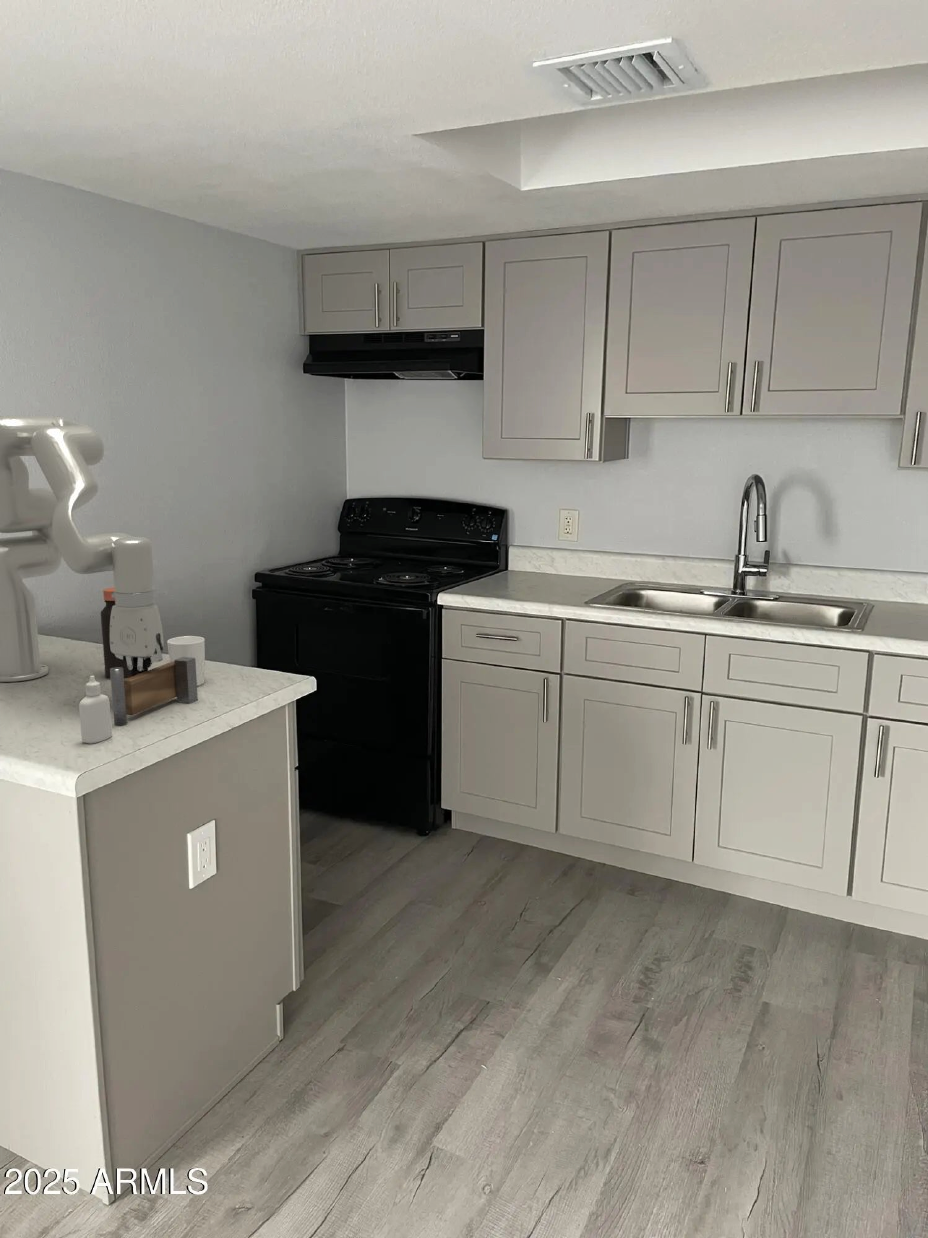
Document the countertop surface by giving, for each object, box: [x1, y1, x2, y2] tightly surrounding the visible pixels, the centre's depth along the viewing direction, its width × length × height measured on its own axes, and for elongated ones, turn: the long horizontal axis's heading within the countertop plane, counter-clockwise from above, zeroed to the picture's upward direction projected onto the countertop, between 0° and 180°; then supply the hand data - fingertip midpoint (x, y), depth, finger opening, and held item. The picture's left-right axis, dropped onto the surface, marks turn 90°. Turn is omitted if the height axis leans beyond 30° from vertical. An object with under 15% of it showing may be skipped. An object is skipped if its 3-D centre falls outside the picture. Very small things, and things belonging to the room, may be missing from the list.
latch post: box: [174, 657, 199, 704], centre depth 200 cm, size 3×3×9 cm
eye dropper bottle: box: [78, 675, 113, 744], centre depth 176 cm, size 4×6×12 cm
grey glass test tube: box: [110, 667, 128, 727], centre depth 185 cm, size 2×2×11 cm
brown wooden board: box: [124, 661, 177, 716], centre depth 195 cm, size 2×16×7 cm, turn 160°
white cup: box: [166, 635, 206, 687], centre depth 213 cm, size 8×8×10 cm
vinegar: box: [100, 587, 131, 679], centre depth 219 cm, size 7×7×20 cm
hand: (140, 687), depth 196 cm, fingers closed
